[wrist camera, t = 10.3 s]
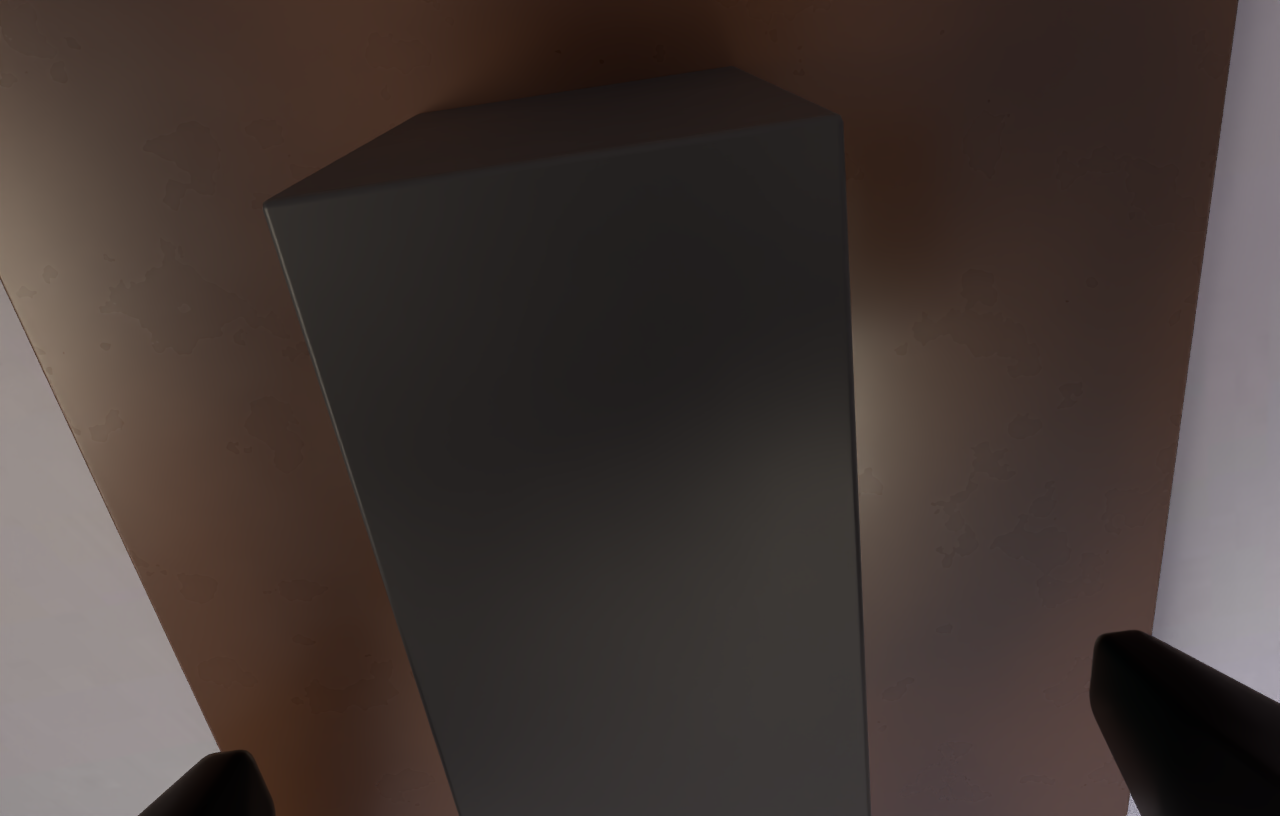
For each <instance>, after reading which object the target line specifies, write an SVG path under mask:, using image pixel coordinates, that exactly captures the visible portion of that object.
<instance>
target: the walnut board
mask: <svg viewBox="0 0 1280 816" xmlns="http://www.w3.org/2000/svg"><path fill="white" fill-rule="evenodd" d="M1237 7H1238V0H0V280H1V282H2V284H3V286H4V288H5V290H6V292H7V295H8V297H9V299H10V301H11V303H12V305H13V307H14V310H15V312H16V314H17V316H18V318H19V320H20V322H21V325H22V327H23V329H24V331H25V333H26V335H27V337H28V340H29V342H30V344H31V346H32V348H33V350H34V352H35V355H36V357H37V359H38V361H39V363H40V365H41V367H42V370H43V372H44V374H45V376H46V378H47V380H48V382H49V385H50V387H51V389H52V391H53V393H54V395H55V398H56V400H57V402H58V404H59V406H60V408H61V410H62V413H63V415H64V417H65V419H66V421H67V423H68V425H69V428H70V430H71V432H72V434H73V436H74V438H75V440H76V443H77V445H78V447H79V449H80V451H81V453H82V455H83V458H84V460H85V462H86V464H87V466H88V468H89V470H90V473H91V475H92V477H93V479H94V481H95V483H96V485H97V488H98V490H99V492H100V494H101V496H102V498H103V500H104V503H105V505H106V507H107V509H108V511H109V513H110V515H111V518H112V520H113V522H114V524H115V526H116V528H117V530H118V533H119V535H120V537H121V539H122V541H123V543H124V546H125V548H126V550H127V552H128V554H129V556H130V558H131V561H132V563H133V565H134V567H135V569H136V571H137V573H138V576H139V578H140V580H141V582H142V584H143V586H144V588H145V591H146V593H147V595H148V597H149V599H150V601H151V603H152V606H153V608H154V610H155V612H156V614H157V616H158V618H159V621H160V623H161V625H162V627H163V629H164V631H165V633H166V636H167V638H168V640H169V642H170V644H171V646H172V648H173V651H174V653H175V655H176V657H177V659H178V661H179V663H180V666H181V668H182V670H183V672H184V674H185V676H186V678H187V681H188V683H189V685H190V687H191V689H192V691H193V694H194V696H195V698H196V700H197V702H198V704H199V706H200V709H201V711H202V713H203V715H204V717H205V719H206V721H207V724H208V726H209V728H210V730H211V732H212V734H213V736H214V739H215V741H216V743H217V745H218V747H219V749H220V751H221V752H225V751H232V750H241V749H242V750H247V751H248V752H250V753H251V754H252V755H253V757H254V759H255V761H256V763H257V765H258V768H259V770H260V772H261V774H262V776H263V779H264V781H265V783H266V785H267V788H268V790H269V792H270V794H271V797H272V799H273V802H274V806H275V814H276V816H459V814H458V811H457V808H456V805H455V802H454V799H453V796H452V793H451V790H450V787H449V783H448V780H447V777H446V774H445V771H444V768H443V765H442V762H441V759H440V756H439V753H438V749H437V746H436V743H435V740H434V737H433V734H432V731H431V728H430V725H429V722H428V719H427V716H426V712H425V709H424V706H423V703H422V700H421V697H420V694H419V691H418V688H417V685H416V682H415V678H414V675H413V672H412V669H411V666H410V663H409V660H408V657H407V654H406V651H405V648H404V645H403V641H402V638H401V635H400V632H399V629H398V626H397V623H396V620H395V617H394V614H393V611H392V607H391V604H390V601H389V598H388V595H387V592H386V589H385V586H384V583H383V580H382V577H381V573H380V570H379V567H378V564H377V561H376V558H375V555H374V552H373V549H372V546H371V543H370V540H369V536H368V533H367V530H366V527H365V524H364V521H363V518H362V515H361V512H360V509H359V506H358V502H357V499H356V496H355V493H354V490H353V487H352V484H351V481H350V478H349V475H348V472H347V469H346V465H345V462H344V459H343V456H342V453H341V450H340V447H339V444H338V441H337V438H336V435H335V431H334V428H333V425H332V422H331V419H330V416H329V413H328V410H327V407H326V404H325V401H324V398H323V394H322V391H321V388H320V385H319V382H318V379H317V376H316V373H315V370H314V367H313V364H312V360H311V357H310V354H309V351H308V348H307V345H306V342H305V339H304V336H303V333H302V330H301V327H300V323H299V320H298V317H297V314H296V311H295V308H294V305H293V302H292V299H291V296H290V293H289V289H288V286H287V283H286V280H285V277H284V274H283V271H282V268H281V265H280V262H279V259H278V255H277V252H276V249H275V246H274V243H273V240H272V237H271V234H270V231H269V228H268V225H267V222H266V218H265V215H264V212H263V202H265V201H266V200H268V199H269V198H271V197H273V196H275V195H276V194H278V193H280V192H282V191H283V190H285V189H287V188H289V187H290V186H292V185H294V184H296V183H297V182H299V181H301V180H303V179H305V178H306V177H308V176H310V175H312V174H313V173H315V172H317V171H319V170H320V169H322V168H324V167H326V166H327V165H329V164H331V163H333V162H334V161H336V160H338V159H340V158H341V157H343V156H345V155H347V154H349V153H350V152H352V151H354V150H356V149H357V148H359V147H361V146H363V145H364V144H366V143H368V142H370V141H371V140H373V139H375V138H377V137H378V136H380V135H382V134H384V133H386V132H387V131H389V130H391V129H393V128H394V127H396V126H398V125H400V124H401V123H403V122H405V121H407V120H408V119H410V118H412V117H414V116H415V115H417V114H421V113H428V112H434V111H441V110H447V109H454V108H461V107H467V106H474V105H480V104H487V103H493V102H500V101H506V100H513V99H519V98H526V97H532V96H539V95H545V94H552V93H558V92H565V91H571V90H578V89H584V88H591V87H597V86H604V85H611V84H617V83H624V82H630V81H637V80H643V79H650V78H656V77H663V76H669V75H676V74H682V73H689V72H695V71H702V70H708V69H715V68H721V67H728V66H733V67H736V68H739V69H741V70H743V71H745V72H747V73H749V74H752V75H754V76H756V77H758V78H760V79H763V80H765V81H767V82H769V83H771V84H774V85H776V86H778V87H780V88H782V89H784V90H787V91H789V92H791V93H793V94H795V95H798V96H800V97H802V98H804V99H806V100H808V101H811V102H813V103H815V104H817V105H819V106H822V107H824V108H826V109H828V110H830V111H832V112H835V113H837V114H839V115H841V117H842V120H843V123H844V148H845V173H846V197H847V222H848V247H849V272H850V297H851V322H852V347H853V371H854V396H855V421H856V446H857V471H858V496H859V520H860V545H861V570H862V595H863V620H864V645H865V670H866V694H867V719H868V744H869V769H870V794H871V816H1126V815H1127V812H1128V805H1129V797H1130V791H1129V789H1128V787H1127V785H1126V783H1125V781H1124V779H1123V777H1122V775H1121V773H1120V770H1119V768H1118V766H1117V764H1116V762H1115V760H1114V758H1113V756H1112V754H1111V752H1110V749H1109V747H1108V745H1107V743H1106V741H1105V739H1104V737H1103V735H1102V733H1101V731H1100V728H1099V726H1098V724H1097V722H1096V720H1095V718H1094V715H1093V712H1092V709H1091V705H1090V699H1089V689H1090V679H1091V669H1092V659H1093V650H1094V644H1095V641H1096V639H1097V637H1098V636H1100V635H1102V634H1104V633H1111V632H1118V631H1126V630H1140V631H1143V632H1145V633H1148V634H1149V635H1151V636H1152V629H1153V622H1154V614H1155V607H1156V600H1157V592H1158V585H1159V578H1160V570H1161V563H1162V556H1163V548H1164V541H1165V534H1166V526H1167V519H1168V512H1169V505H1170V497H1171V490H1172V483H1173V475H1174V468H1175V461H1176V453H1177V446H1178V439H1179V431H1180V424H1181V417H1182V409H1183V402H1184V395H1185V387H1186V380H1187V373H1188V365H1189V358H1190V351H1191V343H1192V336H1193V329H1194V322H1195V314H1196V307H1197V300H1198V292H1199V285H1200V278H1201V270H1202V263H1203V256H1204V248H1205V241H1206V234H1207V226H1208V219H1209V212H1210V204H1211V197H1212V190H1213V182H1214V175H1215V168H1216V160H1217V153H1218V146H1219V139H1220V131H1221V124H1222V117H1223V109H1224V102H1225V95H1226V87H1227V80H1228V73H1229V65H1230V58H1231V51H1232V43H1233V36H1234V29H1235V21H1236V14H1237Z"/></svg>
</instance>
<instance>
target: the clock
mask: <svg viewBox="0 0 1280 816" xmlns="http://www.w3.org/2000/svg"><path fill="white" fill-rule="evenodd" d="M263 212H264V215H265V218H266V222H267V225H268V228H269V231H270V234H271V237H272V240H273V243H274V246H275V249H276V252H277V255H278V259H279V262H280V265H281V268H282V271H283V274H284V277H285V280H286V283H287V286H288V289H289V293H290V296H291V299H292V302H293V305H294V308H295V311H296V314H297V317H298V320H299V323H300V327H301V330H302V333H303V336H304V339H305V342H306V345H307V348H308V351H309V354H310V357H311V360H312V364H313V367H314V370H315V373H316V376H317V379H318V382H319V385H320V388H321V391H322V394H323V398H324V401H325V404H326V407H327V410H328V413H329V416H330V419H331V422H332V425H333V428H334V431H335V435H336V438H337V441H338V444H339V447H340V450H341V453H342V456H343V459H344V462H345V465H346V469H347V472H348V475H349V478H350V481H351V484H352V487H353V490H354V493H355V496H356V499H357V502H358V506H359V509H360V512H361V515H362V518H363V521H364V524H365V527H366V530H367V533H368V536H369V540H370V543H371V546H372V549H373V552H374V555H375V558H376V561H377V564H378V567H379V570H380V573H381V577H382V580H383V583H384V586H385V589H386V592H387V595H388V598H389V601H390V604H391V607H392V611H393V614H394V617H395V620H396V623H397V626H398V629H399V632H400V635H401V638H402V641H403V645H404V648H405V651H406V654H407V657H408V660H409V663H410V666H411V669H412V672H413V675H414V678H415V682H416V685H417V688H418V691H419V694H420V697H421V700H422V703H423V706H424V709H425V712H426V716H427V719H428V722H429V725H430V728H431V731H432V734H433V737H434V740H435V743H436V746H437V749H438V753H439V756H440V759H441V762H442V765H443V768H444V771H445V774H446V777H447V780H448V783H449V787H450V790H451V793H452V796H453V799H454V802H455V805H456V808H457V811H458V814H459V816H871V794H870V769H869V744H868V719H867V694H866V670H865V645H864V620H863V595H862V570H861V545H860V520H859V496H858V471H857V446H856V421H855V396H854V371H853V347H852V322H851V297H850V272H849V247H848V222H847V197H846V173H845V148H844V123H843V120H842V117H841V115H839V114H837V113H835V112H832V111H830V110H828V109H826V108H824V107H822V106H819V105H817V104H815V103H813V102H811V101H808V100H806V99H804V98H802V97H800V96H798V95H795V94H793V93H791V92H789V91H787V90H784V89H782V88H780V87H778V86H776V85H774V84H771V83H769V82H767V81H765V80H763V79H760V78H758V77H756V76H754V75H752V74H749V73H747V72H745V71H743V70H741V69H739V68H736V67H733V66H728V67H721V68H715V69H708V70H702V71H695V72H689V73H682V74H676V75H669V76H663V77H656V78H650V79H643V80H637V81H630V82H624V83H617V84H611V85H604V86H597V87H591V88H584V89H578V90H571V91H565V92H558V93H552V94H545V95H539V96H532V97H526V98H519V99H513V100H506V101H500V102H493V103H487V104H480V105H474V106H467V107H461V108H454V109H447V110H441V111H434V112H428V113H421V114H417V115H415V116H414V117H412V118H410V119H408V120H407V121H405V122H403V123H401V124H400V125H398V126H396V127H394V128H393V129H391V130H389V131H387V132H386V133H384V134H382V135H380V136H378V137H377V138H375V139H373V140H371V141H370V142H368V143H366V144H364V145H363V146H361V147H359V148H357V149H356V150H354V151H352V152H350V153H349V154H347V155H345V156H343V157H341V158H340V159H338V160H336V161H334V162H333V163H331V164H329V165H327V166H326V167H324V168H322V169H320V170H319V171H317V172H315V173H313V174H312V175H310V176H308V177H306V178H305V179H303V180H301V181H299V182H297V183H296V184H294V185H292V186H290V187H289V188H287V189H285V190H283V191H282V192H280V193H278V194H276V195H275V196H273V197H271V198H269V199H268V200H266V201H265V202H263Z"/></svg>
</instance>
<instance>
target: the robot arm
mask: <svg viewBox="0 0 1280 816" xmlns="http://www.w3.org/2000/svg"><path fill="white" fill-rule="evenodd" d="M1089 699H1090V705H1091V709H1092V712H1093V715H1094V718H1095V720H1096V722H1097V724H1098V726H1099V728H1100V731H1101V733H1102V735H1103V737H1104V739H1105V741H1106V743H1107V745H1108V747H1109V749H1110V752H1111V754H1112V756H1113V758H1114V760H1115V762H1116V764H1117V766H1118V768H1119V770H1120V773H1121V775H1122V777H1123V779H1124V781H1125V783H1126V785H1127V787H1128V789H1129V791H1130V794H1131V796H1132V798H1133V800H1134V802H1135V804H1136V806H1137V808H1138V810H1139V812H1140V815H1141V816H1280V703H1278V702H1276V701H1274V700H1272V699H1270V698H1268V697H1267V696H1265V695H1263V694H1261V693H1259V692H1257V691H1255V690H1253V689H1251V688H1250V687H1248V686H1246V685H1244V684H1242V683H1240V682H1238V681H1236V680H1234V679H1233V678H1231V677H1229V676H1227V675H1225V674H1223V673H1221V672H1219V671H1217V670H1216V669H1214V668H1212V667H1210V666H1208V665H1206V664H1204V663H1202V662H1200V661H1199V660H1197V659H1195V658H1193V657H1191V656H1189V655H1187V654H1185V653H1183V652H1182V651H1180V650H1178V649H1176V648H1174V647H1172V646H1170V645H1168V644H1166V643H1165V642H1163V641H1161V640H1159V639H1157V638H1155V637H1153V636H1151V635H1149V634H1148V633H1145V632H1143V631H1140V630H1126V631H1118V632H1111V633H1104V634H1102V635H1100V636H1098V637H1097V639H1096V641H1095V644H1094V650H1093V659H1092V669H1091V679H1090V689H1089ZM138 816H276V814H275V806H274V802H273V799H272V797H271V794H270V792H269V790H268V788H267V785H266V783H265V781H264V779H263V776H262V774H261V772H260V770H259V768H258V765H257V763H256V761H255V759H254V757H253V755H252V754H251V753H250V752H248V751H247V750H242V749H241V750H232V751H225V752H218V753H213V754H209V755H207V756H205V757H204V758H203V759H201V760H200V761H199V762H198V763H197V764H196V765H194V766H193V767H192V768H191V769H190V770H189V771H188V772H187V773H185V774H184V775H183V776H182V777H181V778H180V779H179V780H178V781H176V782H175V783H174V784H173V785H172V786H171V787H170V788H169V789H167V790H166V791H165V792H164V793H163V794H162V795H161V796H160V797H158V798H157V799H156V800H155V801H154V802H153V803H152V804H151V805H149V806H148V807H147V808H146V809H145V810H144V811H143V812H142V813H140V814H139V815H138Z"/></svg>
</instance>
